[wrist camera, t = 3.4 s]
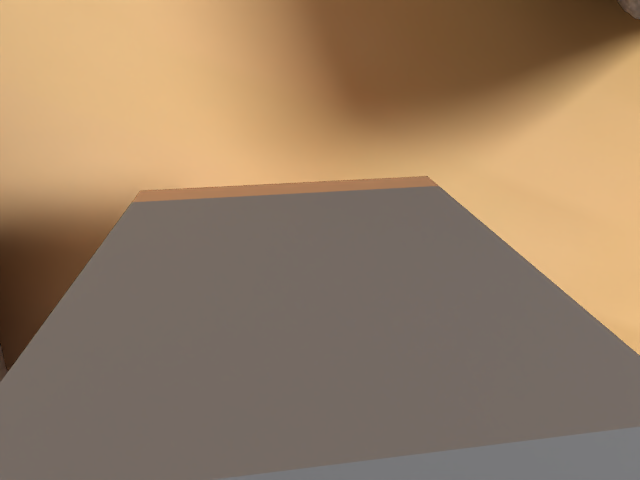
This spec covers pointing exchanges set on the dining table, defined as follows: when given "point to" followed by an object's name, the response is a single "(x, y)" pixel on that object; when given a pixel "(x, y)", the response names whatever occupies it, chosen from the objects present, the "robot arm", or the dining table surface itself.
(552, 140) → the dining table surface
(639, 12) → the decorative stone
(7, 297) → the dining table surface
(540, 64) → the dining table surface
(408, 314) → the block
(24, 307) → the dining table surface
